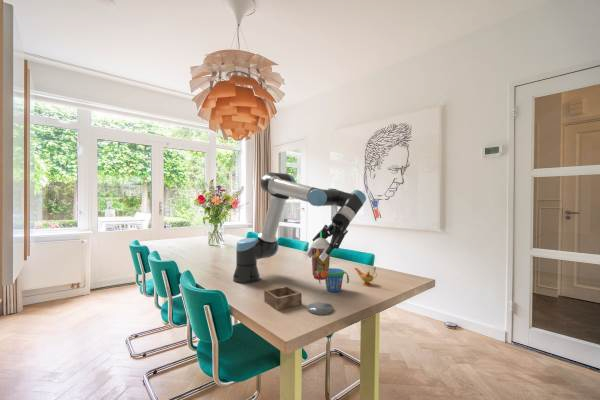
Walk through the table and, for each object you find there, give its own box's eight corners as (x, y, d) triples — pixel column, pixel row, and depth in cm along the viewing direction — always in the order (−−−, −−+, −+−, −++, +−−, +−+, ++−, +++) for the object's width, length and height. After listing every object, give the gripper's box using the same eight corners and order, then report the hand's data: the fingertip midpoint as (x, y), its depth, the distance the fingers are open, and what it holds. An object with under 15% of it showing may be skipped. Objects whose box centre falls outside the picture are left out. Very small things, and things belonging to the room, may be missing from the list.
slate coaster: (306, 314, 114) (306, 311, 114) (307, 304, 125) (307, 301, 125) (333, 315, 113) (333, 312, 113) (332, 305, 124) (332, 302, 124)
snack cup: (319, 293, 140) (319, 273, 140) (318, 286, 150) (318, 267, 150) (350, 293, 139) (350, 273, 139) (347, 287, 150) (347, 268, 150)
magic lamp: (359, 278, 166) (359, 260, 166) (381, 287, 150) (381, 266, 150) (349, 280, 163) (350, 261, 163) (371, 289, 147) (371, 268, 147)
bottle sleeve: (277, 310, 118) (277, 298, 118) (264, 301, 128) (264, 290, 128) (301, 304, 125) (301, 293, 125) (287, 296, 135) (287, 285, 135)
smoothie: (317, 282, 114) (317, 233, 113) (307, 276, 121) (307, 230, 121) (334, 279, 117) (334, 232, 117) (323, 274, 125) (323, 229, 125)
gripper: (364, 225, 119) (335, 268, 110) (332, 222, 136) (305, 258, 128) (355, 213, 116) (325, 256, 107) (324, 211, 133) (295, 248, 125)
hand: (314, 257), depth 117 cm, fingers closed on smoothie, 8 cm apart
